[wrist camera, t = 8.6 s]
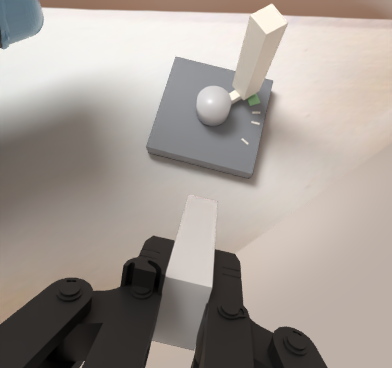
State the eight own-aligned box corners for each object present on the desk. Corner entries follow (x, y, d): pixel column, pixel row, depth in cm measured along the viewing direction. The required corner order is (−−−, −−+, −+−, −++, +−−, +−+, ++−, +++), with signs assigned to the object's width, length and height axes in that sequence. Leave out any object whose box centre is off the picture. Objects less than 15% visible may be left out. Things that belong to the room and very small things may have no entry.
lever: (207, 131, 37) (218, 70, 26) (189, 106, 38) (192, 36, 27) (261, 100, 39) (293, 29, 27) (242, 76, 40) (266, -3, 28)
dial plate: (148, 152, 39) (146, 146, 37) (176, 66, 42) (175, 55, 40) (249, 178, 38) (252, 173, 36) (269, 89, 42) (273, 80, 40)
